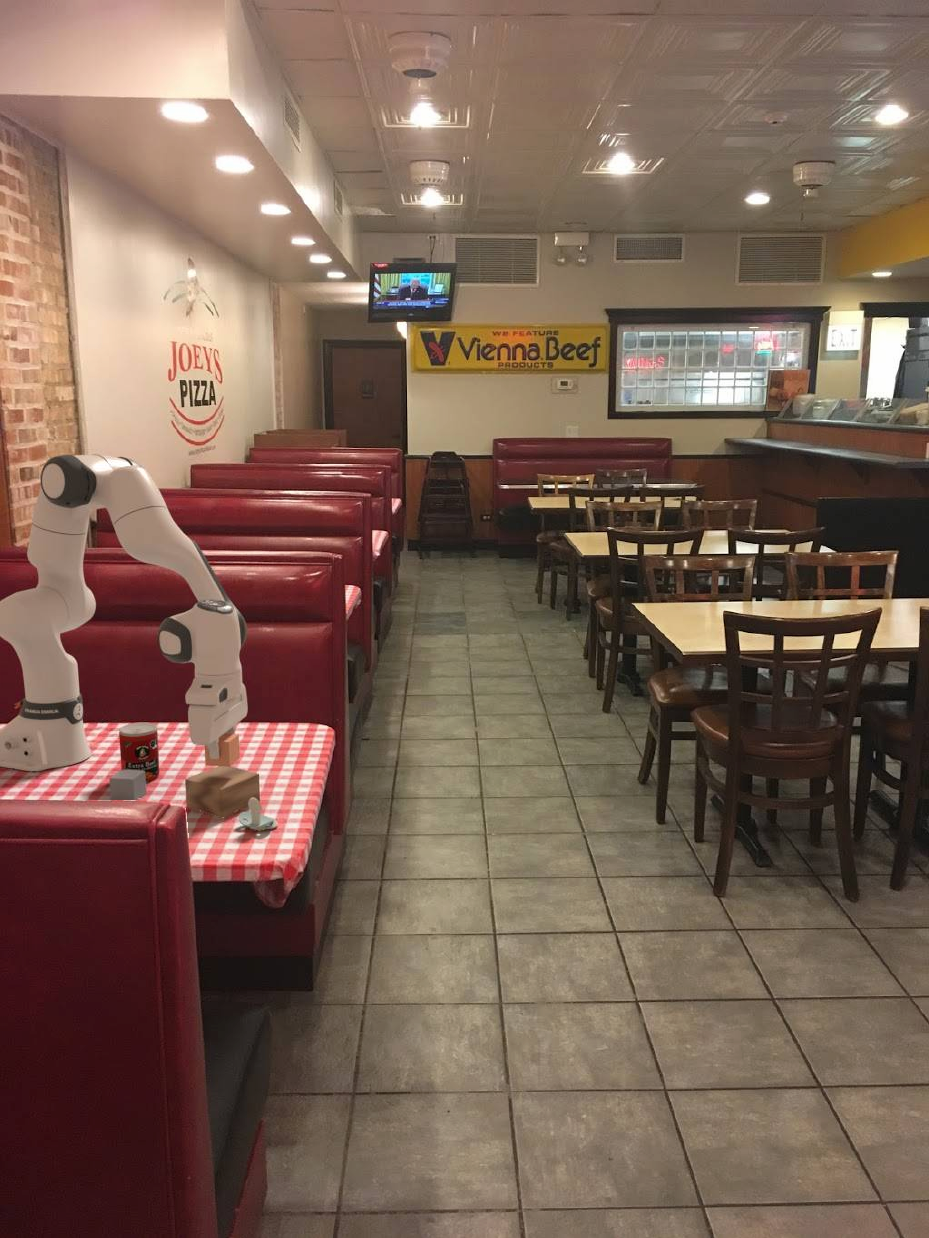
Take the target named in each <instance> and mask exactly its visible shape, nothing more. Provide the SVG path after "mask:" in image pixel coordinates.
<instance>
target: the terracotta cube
mask: <svg viewBox="0 0 929 1238" xmlns="http://www.w3.org/2000/svg"><path fill="white" fill-rule="evenodd" d="M203 746H204V761H205V762H204V764H205V766H209V767H211V766H212V767H218V766H224V767H230V766H231V767H232V766H233V765H234V764H235V763H236V762H237V761H238V760H239V759H241V757H240V735H239V733H235V734H227V733H224V734H223V735H222V736H220V737H219V742H218V746H219V748H221V756H220V757H219V758H218V759H211V758H210V755H209V749H208V747H207V745H203Z"/></svg>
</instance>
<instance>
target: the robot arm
mask: <svg viewBox="0 0 929 1238" xmlns="http://www.w3.org/2000/svg"><path fill="white" fill-rule="evenodd" d="M40 486H41V488H40V490H39V493H38V495H37V499H36V502H35V505H34V509H33V513H32V519H31V520H32V521H31V527H30V533H29V541H28V546H27V552H26V555H27V559H28V561H29V563H30V565H32V566H33V567H34V568H36V569H37V574H38V583H37V585H36V587H35V588H34V587H33V588H29V589H26V590H25V589H24V590H20V591H17V592H14V593H13V594H11V595H9V596H6V597H5V598H4V599H1V600H0V638H2V639H3V640H4V641H6V642H8V643H9V644H10V645H11V646H12V647H13V649H14V650H15V653H16V654H17V657H18V659H19V661H20V665H21V669H22V676H23V683H24V684H23V685H24V693H25V694H24V695H25V697H24V698H23V699H21V700H20V701H19V702H16V703H14V706H15V707H14V709H15V710H16V709H18V708H20V709H19V713H18V715H17V716H16V717H15V718H13V719H12V720H11V721H10V722H8V723H7V724H6V725H4V726H3V727H2V728H1V729H0V767H2V768H8V769H13V768H14V769H15V770H20V771H25V772H26V771H28V772H32V771H36V772H41V771H44V770H47V769H48V770H49V769H54V768H61V767H66V766H71V765H75V764H77V763H80V762H83V761H85V760H86V759H88V758H90V757H91V756H92V750H91V747H90V745H89V742H88V738H87V736H86V730H85V727H84V721H83V718H84V706H83V705H84V704H83V696H82V693H81V692H80V682H79V668H78V667H79V666H78V662H77V660H76V659H75V657H74V656H73V655H71V654H69V653H67V652H66V650H65V648H64V646H63V643H62V641H61V640H62V639H61V634H63V633H64V634H65V633H67V632H69V631H74V630H76V629H78V628H80V627H81V626H83V625H84V624H86V623H87V622H88V621H90V620H91V619H92V618H93V617H94V614H95V612H96V610H97V609H96V607H97V602H96V599H95V596H94V594H93V591H92V590H91V589H90V588H89V587H88V586H87V584H86V581H85V575H84V558H85V550H86V542H87V538H88V531H89V523H90V517H91V513H92V511H93V510H100V509H106V511H107V513H108V514H109V517H110V521H111V524H112V526H113V528H114V530H115V535H116V537H117V540H118V541H119V543H120V545H121V547H122V548H123V550H124V551H125V552H126V553H127V555H129V556H130V557H132V558H134V559H135V560H137V561H140V562H142V563H145V564H149V565H155V566H159V567H162V568H166V569H169V570H171V571H173V572H176V573H177V574H179V576H181V577H183V579H184V580H185V581H186V583H187V584H188V586H189V588H190V590H191V591H192V593H193V595H194V596H195V598H196V600H197V601H198V602H196V603H195V604H194V605H193V607H192V608H191V609H189V610H187V611H185V612H182V613H177V614H175V615H172V616H170V617H169V616H168V617H166V618H164V619H163V621H162V622H161V623H160V625H159V628H158V632H157V644H158V648H159V651H160V653H161V654H162V656H163V657H164V658H166V659H167V660H168V661H170V662H171V663H174V664H186V663H193V664H194V678H193V679H192V683H191V685H190V687H189V688H188V690H187V691H186V693H185V696H184V697H185V703H186V704H187V705H189V706H188V709H187V710H188V711H187V716H188V717H187V718H188V730H189V731H188V732H189V737H190V740H191V742H192V744H193V745H196V746H204V745H207V747H208V749H209V755H210V758H211V759H218V758H219V757H220V756H221V748H219V746H218V742H219V737H220V736H222V735H223V734H224V733H227V734H236V731H237V724H239V722H241V721H242V720H243V719H244V718H246V717H247V716H248V715H247V714H248V696H247V689H246V686H245V684H244V683H243V668H242V664H241V661H240V653H241V652H240V651H241V649H242V647H243V646H244V644H245V642H246V640H247V637H248V636H247V635H248V625H247V623H246V620H245V618H244V616H243V615H242V613H241V612H240V611H239V609H237V607H236V606H235V605H234V603H233V602H232V600H231V599H230V598H229V596H228V594H227V592H226V591H225V589H224V587H223V586H222V584H221V582H220V580H219V579H218V577H217V574H216V573H215V571H214V570H213V567H212V566H211V565H210V563H209V561H208V558H207V557H206V556H205V554H204V552H203V551H202V550H201V548H200V547H199V545H198V544H197V542H196V541H195V540H193V539H192V538H190V537H189V536H188V535H186V534H185V533H184V532H183V531H182V529H181V528H180V527H179V526H178V524H177V523H176V521H174V519H173V517H172V515H171V513H170V511H169V509H168V507H167V504H166V501H165V499H164V497H163V495H162V493H161V491H160V489H159V488H158V486H157V484H156V482H155V481H154V480H153V478H152V477H151V474H149V472H148V471H147V470H146V469H145V468H143V467H142V466H141V464H139V463H138V462H137V461H135V460H134V459H133V460H132V459H131V458H128V457H123V456H113V455H107V454H97V453H95V454H78V455H72V454H62V455H57V456H53V457H51V458H50V459H48V460H47V461H46V462H45V463H44V465H43V466H42V470H41V473H40Z"/></svg>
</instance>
